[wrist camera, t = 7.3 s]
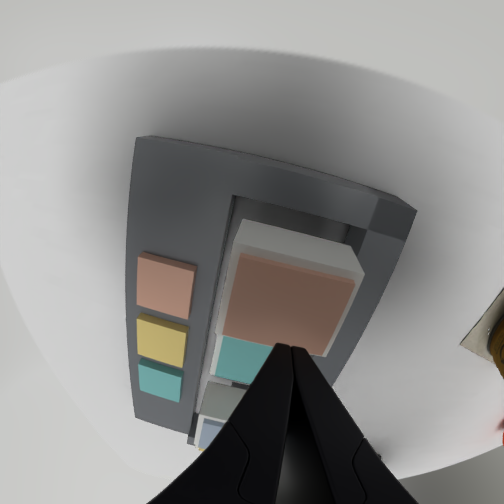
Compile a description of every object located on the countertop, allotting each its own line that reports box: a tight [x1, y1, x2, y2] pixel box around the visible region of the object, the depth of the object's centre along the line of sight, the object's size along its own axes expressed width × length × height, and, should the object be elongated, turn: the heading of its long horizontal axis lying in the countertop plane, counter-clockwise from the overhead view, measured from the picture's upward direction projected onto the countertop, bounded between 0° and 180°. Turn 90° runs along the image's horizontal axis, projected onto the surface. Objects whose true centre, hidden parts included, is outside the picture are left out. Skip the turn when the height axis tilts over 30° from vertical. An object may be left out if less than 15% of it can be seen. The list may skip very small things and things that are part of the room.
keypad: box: [125, 136, 417, 446], centre depth 17 cm, size 22×13×2 cm, turn 167°
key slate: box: [194, 381, 249, 449], centre depth 16 cm, size 4×4×4 cm
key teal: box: [209, 334, 273, 384], centre depth 15 cm, size 4×4×4 cm
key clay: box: [214, 219, 365, 357], centre depth 12 cm, size 4×4×4 cm
